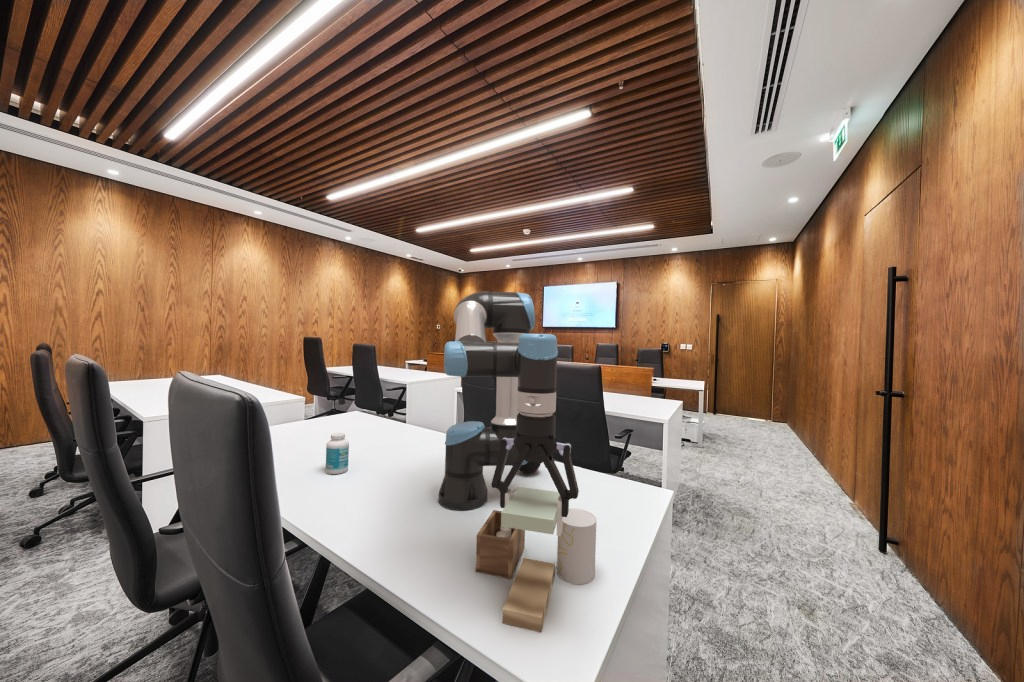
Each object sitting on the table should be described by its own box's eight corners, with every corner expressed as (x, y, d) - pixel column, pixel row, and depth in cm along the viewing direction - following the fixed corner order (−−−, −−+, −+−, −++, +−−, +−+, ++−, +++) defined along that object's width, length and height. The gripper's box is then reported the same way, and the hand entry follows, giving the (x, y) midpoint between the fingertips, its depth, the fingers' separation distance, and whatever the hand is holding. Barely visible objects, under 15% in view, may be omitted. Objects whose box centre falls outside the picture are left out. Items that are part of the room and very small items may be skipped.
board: (541, 632, 64) (541, 617, 64) (502, 623, 66) (502, 609, 66) (554, 575, 80) (555, 563, 80) (522, 569, 81) (523, 557, 81)
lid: (553, 539, 65) (553, 520, 65) (500, 530, 67) (501, 512, 67) (562, 508, 77) (562, 492, 77) (517, 502, 80) (517, 486, 80)
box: (511, 579, 78) (512, 541, 78) (475, 571, 80) (476, 535, 80) (524, 547, 90) (525, 514, 89) (492, 542, 92) (493, 510, 91)
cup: (553, 561, 85) (555, 508, 84) (588, 560, 85) (590, 508, 85) (561, 585, 77) (562, 527, 76) (599, 583, 77) (601, 526, 77)
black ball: (523, 466, 145) (524, 441, 145) (545, 472, 140) (546, 446, 139) (508, 473, 137) (509, 446, 137) (531, 480, 132) (531, 452, 131)
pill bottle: (342, 475, 131) (343, 437, 131) (321, 474, 131) (322, 436, 131) (351, 468, 139) (352, 432, 139) (332, 467, 139) (332, 431, 139)
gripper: (475, 412, 71) (472, 528, 72) (593, 421, 66) (590, 548, 66) (488, 405, 79) (485, 511, 79) (595, 413, 73) (592, 527, 73)
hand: (533, 528), depth 72 cm, fingers closed on lid, 9 cm apart
